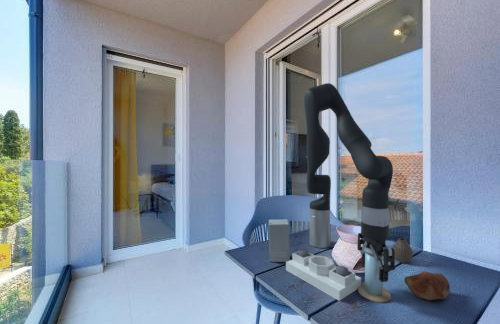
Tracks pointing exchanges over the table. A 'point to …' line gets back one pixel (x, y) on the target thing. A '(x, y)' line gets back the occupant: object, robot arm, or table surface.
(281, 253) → the skincare box
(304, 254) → the plunger
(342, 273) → the plunger
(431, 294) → the fossil
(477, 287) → the table surface
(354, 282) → the housing
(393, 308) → the table surface
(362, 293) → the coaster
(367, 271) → the cylinder
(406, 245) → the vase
